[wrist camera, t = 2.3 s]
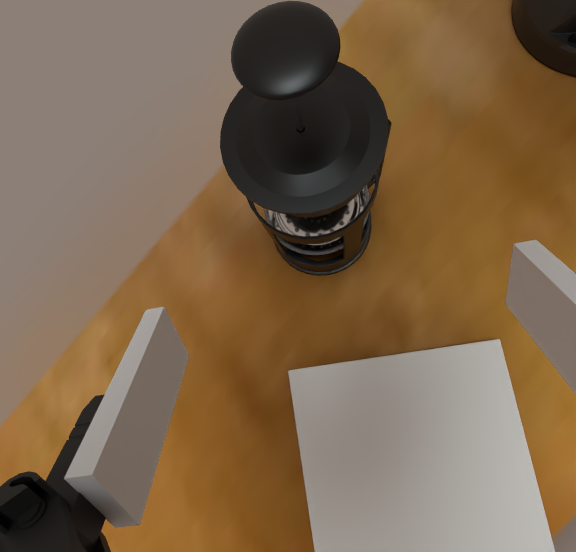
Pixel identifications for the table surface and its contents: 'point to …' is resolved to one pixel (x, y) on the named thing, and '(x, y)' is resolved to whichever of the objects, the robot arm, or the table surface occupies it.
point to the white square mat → (417, 454)
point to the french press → (304, 136)
